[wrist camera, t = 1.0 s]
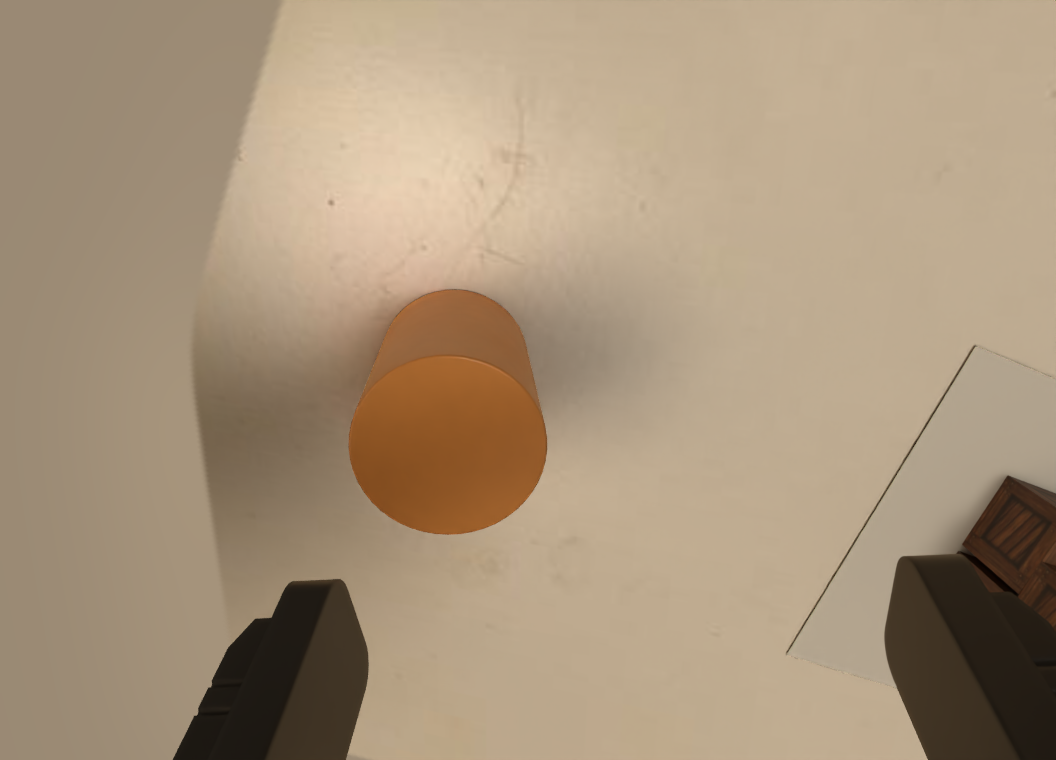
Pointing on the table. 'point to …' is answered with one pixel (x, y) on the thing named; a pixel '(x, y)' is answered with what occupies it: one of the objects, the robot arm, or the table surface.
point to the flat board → (954, 512)
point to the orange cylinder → (449, 417)
